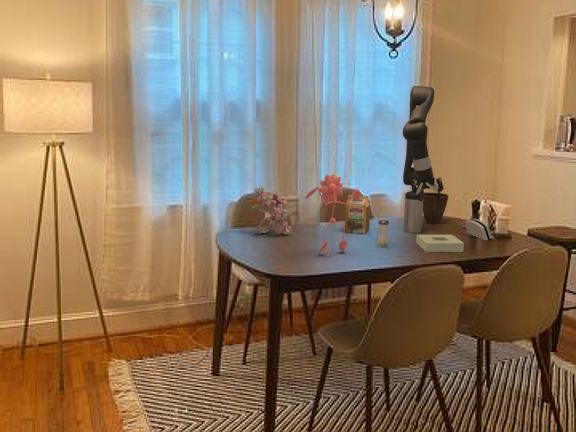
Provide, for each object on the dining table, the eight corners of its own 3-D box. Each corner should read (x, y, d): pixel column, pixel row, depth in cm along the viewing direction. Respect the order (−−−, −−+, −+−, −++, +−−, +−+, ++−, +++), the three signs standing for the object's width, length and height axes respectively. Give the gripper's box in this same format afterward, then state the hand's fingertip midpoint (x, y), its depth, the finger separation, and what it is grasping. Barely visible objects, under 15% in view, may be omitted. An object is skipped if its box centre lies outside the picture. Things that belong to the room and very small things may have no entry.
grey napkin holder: (494, 240, 289) (490, 221, 286) (486, 243, 288) (482, 225, 285) (475, 232, 304) (470, 215, 302) (467, 236, 303) (462, 218, 301)
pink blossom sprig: (363, 252, 261) (364, 173, 255) (312, 259, 249) (313, 177, 243) (344, 246, 275) (345, 171, 269) (295, 252, 263) (295, 173, 257)
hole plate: (416, 242, 281) (416, 234, 280) (451, 242, 282) (452, 234, 281) (425, 251, 264) (426, 243, 263) (463, 251, 265) (464, 243, 264)
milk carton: (344, 233, 301) (345, 196, 297) (349, 229, 310) (350, 193, 307) (365, 234, 297) (366, 197, 294) (369, 230, 307) (370, 194, 304)
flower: (262, 239, 278) (284, 191, 279) (234, 226, 294) (254, 181, 295) (290, 251, 292) (310, 204, 293) (262, 238, 308) (281, 194, 309)
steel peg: (376, 245, 276) (377, 219, 274) (386, 245, 276) (387, 219, 274) (378, 247, 271) (379, 221, 269) (388, 247, 272) (389, 222, 269)
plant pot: (441, 220, 336) (443, 192, 333) (450, 225, 322) (452, 196, 318) (416, 220, 335) (417, 192, 332) (423, 225, 321) (425, 196, 318)
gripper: (441, 162, 260) (448, 196, 265) (411, 165, 269) (418, 198, 274) (434, 168, 255) (441, 203, 260) (404, 171, 264) (412, 204, 269)
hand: (430, 200), depth 267 cm, fingers open, 8 cm apart
